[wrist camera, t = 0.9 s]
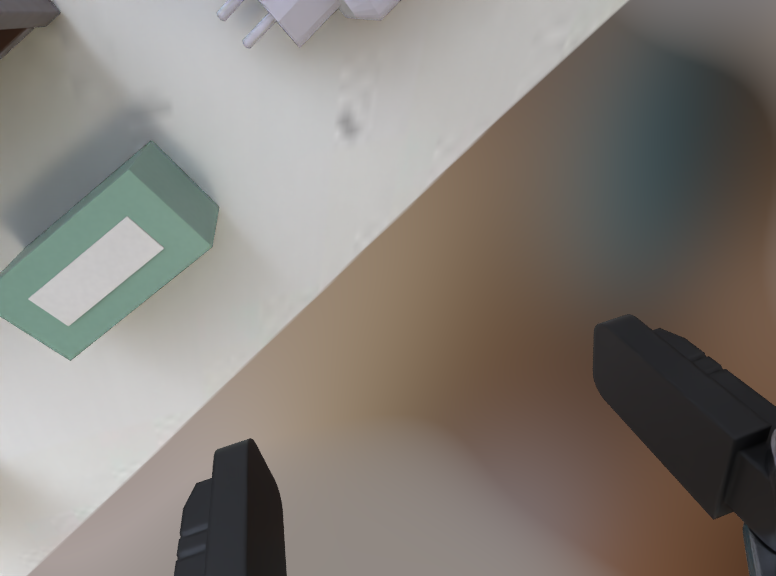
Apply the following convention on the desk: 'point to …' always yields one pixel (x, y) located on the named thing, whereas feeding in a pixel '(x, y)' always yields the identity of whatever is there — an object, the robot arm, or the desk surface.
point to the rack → (22, 20)
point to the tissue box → (108, 253)
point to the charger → (307, 15)
